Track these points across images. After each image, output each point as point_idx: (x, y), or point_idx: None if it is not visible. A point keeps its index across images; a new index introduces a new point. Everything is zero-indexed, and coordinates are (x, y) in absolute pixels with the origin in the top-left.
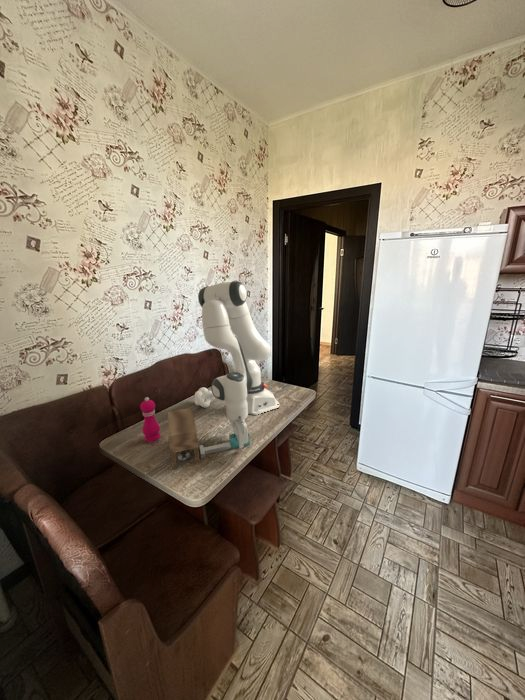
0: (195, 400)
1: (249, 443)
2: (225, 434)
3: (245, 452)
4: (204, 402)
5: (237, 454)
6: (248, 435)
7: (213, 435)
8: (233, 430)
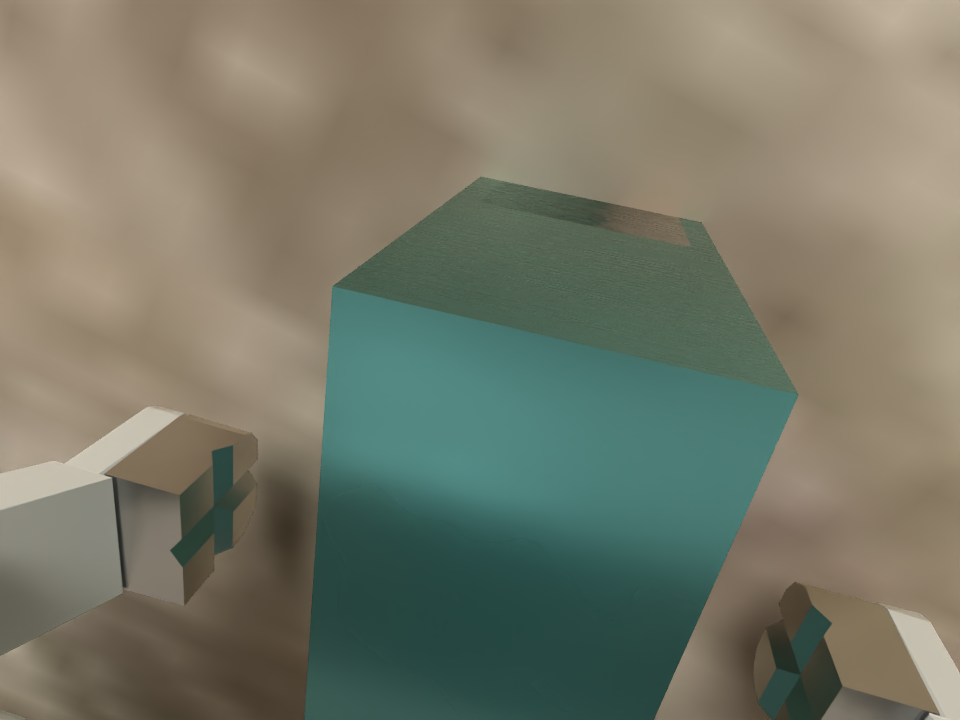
0: None
1: (706, 245)
2: None
3: (935, 495)
4: None
5: None
6: (762, 421)
7: None
8: (36, 612)
